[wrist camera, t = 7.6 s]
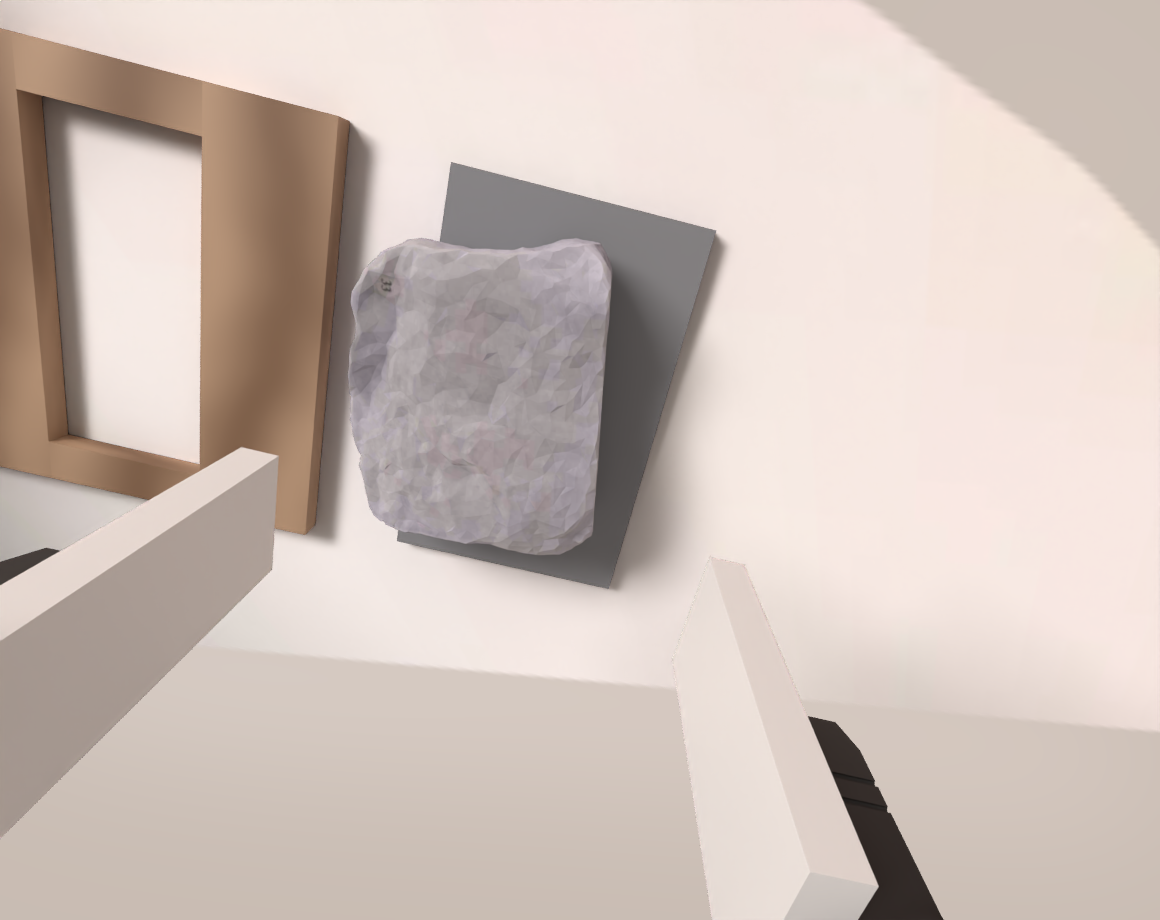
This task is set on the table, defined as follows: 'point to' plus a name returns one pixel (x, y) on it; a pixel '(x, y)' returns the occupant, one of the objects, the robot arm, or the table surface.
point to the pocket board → (228, 273)
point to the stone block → (482, 390)
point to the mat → (634, 342)
